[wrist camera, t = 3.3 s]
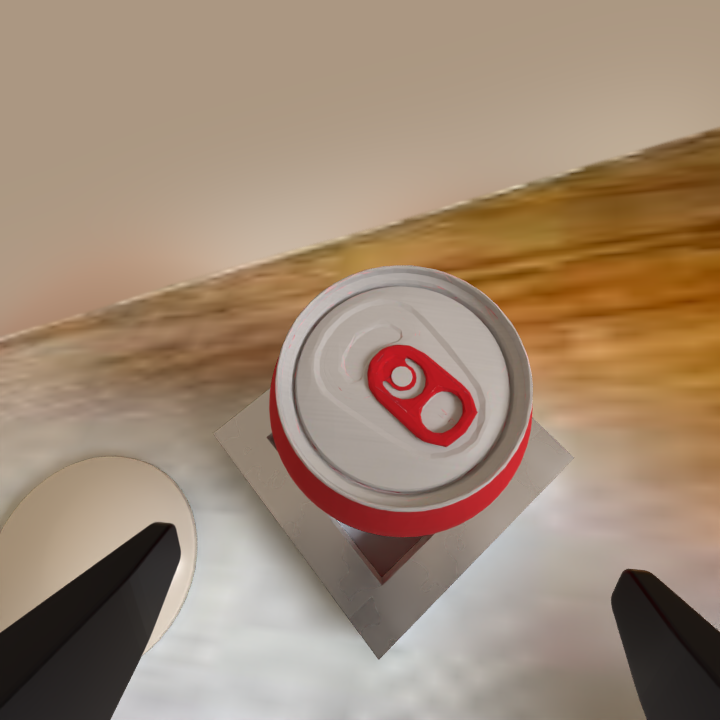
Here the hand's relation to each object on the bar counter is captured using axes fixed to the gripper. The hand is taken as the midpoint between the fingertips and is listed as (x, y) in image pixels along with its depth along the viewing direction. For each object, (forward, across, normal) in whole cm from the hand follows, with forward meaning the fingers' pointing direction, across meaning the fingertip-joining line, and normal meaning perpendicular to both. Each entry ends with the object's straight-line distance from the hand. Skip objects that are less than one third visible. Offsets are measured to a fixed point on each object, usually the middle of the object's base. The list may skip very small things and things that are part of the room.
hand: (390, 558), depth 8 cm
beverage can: (+10, 0, +5) cm, 11 cm away
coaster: (+6, +13, +9) cm, 17 cm away
